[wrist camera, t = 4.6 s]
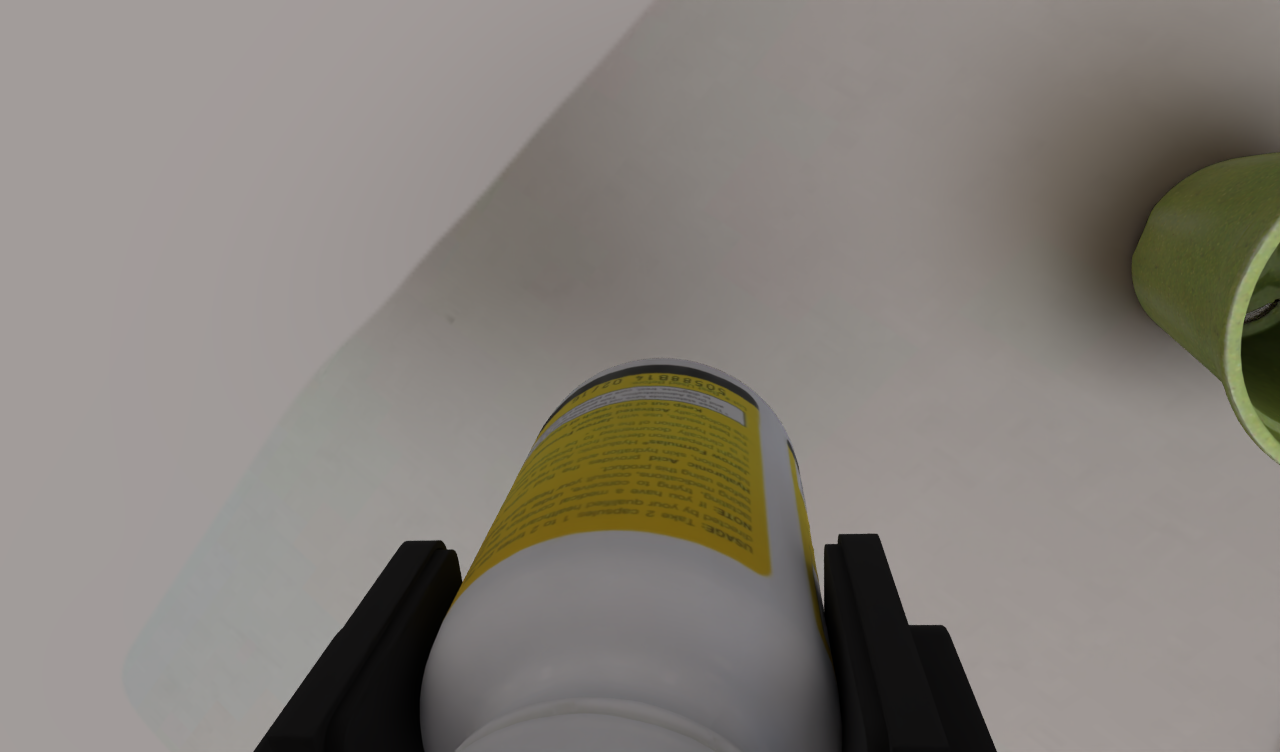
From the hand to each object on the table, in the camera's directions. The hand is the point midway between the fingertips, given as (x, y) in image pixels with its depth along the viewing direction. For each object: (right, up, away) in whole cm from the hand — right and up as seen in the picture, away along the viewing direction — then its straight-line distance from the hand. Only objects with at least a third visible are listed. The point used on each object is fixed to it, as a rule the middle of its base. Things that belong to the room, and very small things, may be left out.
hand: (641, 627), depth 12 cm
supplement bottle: (+1, +2, +5) cm, 5 cm away
